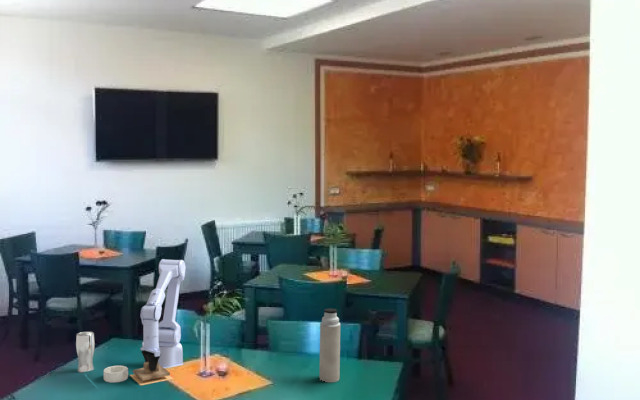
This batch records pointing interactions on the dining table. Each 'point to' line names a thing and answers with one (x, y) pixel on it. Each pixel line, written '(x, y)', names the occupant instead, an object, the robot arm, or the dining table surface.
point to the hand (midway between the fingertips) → (151, 369)
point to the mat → (150, 379)
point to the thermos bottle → (330, 346)
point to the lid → (150, 372)
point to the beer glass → (85, 351)
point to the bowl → (115, 373)
